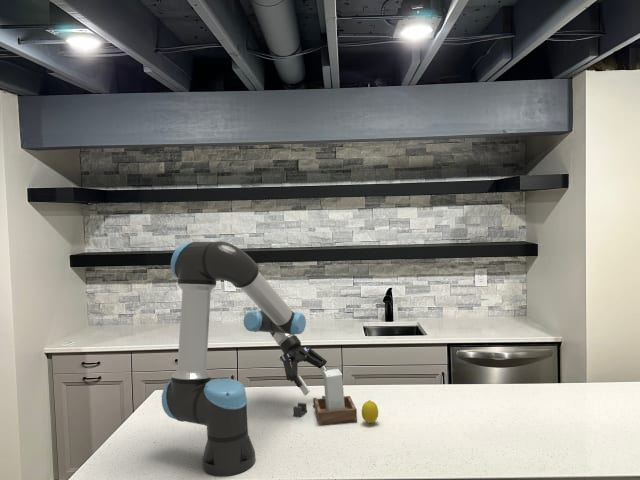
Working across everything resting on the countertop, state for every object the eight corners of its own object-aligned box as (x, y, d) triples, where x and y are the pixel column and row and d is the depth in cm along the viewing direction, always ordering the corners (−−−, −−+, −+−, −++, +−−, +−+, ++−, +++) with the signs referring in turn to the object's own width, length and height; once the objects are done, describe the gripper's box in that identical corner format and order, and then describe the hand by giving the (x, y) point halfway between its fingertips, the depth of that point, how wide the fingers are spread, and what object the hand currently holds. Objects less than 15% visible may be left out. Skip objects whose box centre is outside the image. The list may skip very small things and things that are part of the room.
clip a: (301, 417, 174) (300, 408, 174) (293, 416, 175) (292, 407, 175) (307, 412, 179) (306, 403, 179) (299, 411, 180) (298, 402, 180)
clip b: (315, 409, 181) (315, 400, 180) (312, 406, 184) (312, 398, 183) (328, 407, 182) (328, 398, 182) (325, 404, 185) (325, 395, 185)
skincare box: (345, 417, 170) (343, 374, 169) (328, 419, 169) (326, 376, 168) (341, 408, 178) (339, 367, 177) (324, 410, 177) (322, 369, 177)
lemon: (382, 423, 166) (381, 399, 166) (372, 428, 162) (371, 404, 162) (368, 419, 170) (367, 396, 170) (358, 424, 166) (357, 401, 166)
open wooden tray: (357, 422, 168) (356, 409, 168) (319, 426, 166) (318, 412, 166) (350, 408, 181) (349, 395, 181) (315, 411, 179) (314, 399, 179)
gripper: (304, 339, 198) (335, 383, 189) (258, 354, 179) (291, 404, 170) (313, 327, 194) (346, 372, 185) (268, 342, 175) (302, 392, 166)
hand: (319, 387), depth 177 cm, fingers open, 13 cm apart
